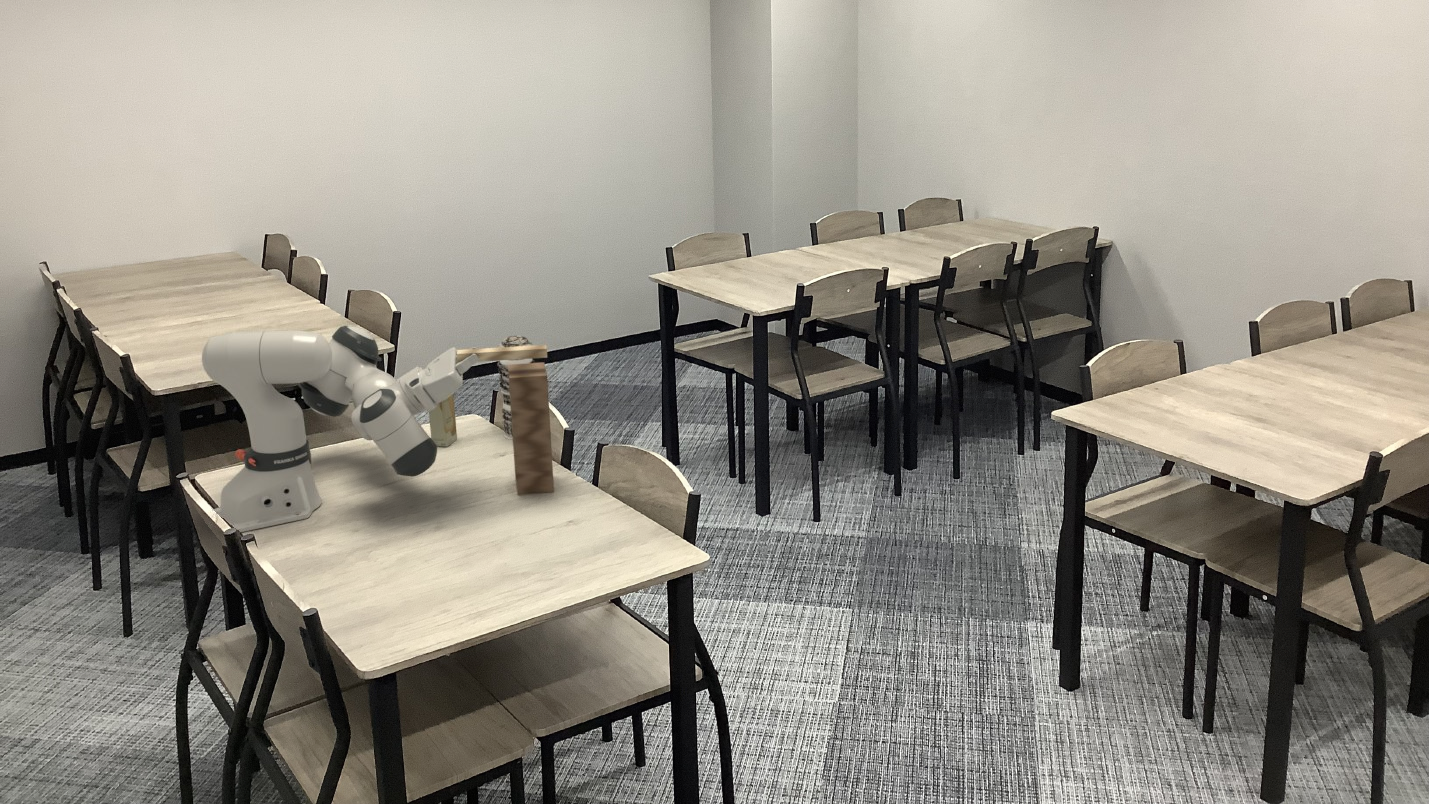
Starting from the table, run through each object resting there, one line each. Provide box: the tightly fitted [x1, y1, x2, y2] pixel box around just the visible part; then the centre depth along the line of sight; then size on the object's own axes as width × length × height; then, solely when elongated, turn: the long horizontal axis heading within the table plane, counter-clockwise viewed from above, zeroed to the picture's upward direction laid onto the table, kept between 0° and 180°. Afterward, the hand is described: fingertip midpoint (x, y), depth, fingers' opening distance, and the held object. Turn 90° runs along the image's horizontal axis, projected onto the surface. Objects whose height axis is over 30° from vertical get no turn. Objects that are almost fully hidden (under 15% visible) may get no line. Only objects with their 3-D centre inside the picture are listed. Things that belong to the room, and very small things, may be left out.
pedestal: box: [508, 361, 555, 496], centre depth 265 cm, size 8×10×27 cm
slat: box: [457, 344, 548, 363], centre depth 258 cm, size 19×3×2 cm, turn 101°
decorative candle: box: [496, 335, 536, 441], centre depth 297 cm, size 9×9×25 cm
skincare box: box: [428, 393, 458, 448], centre depth 294 cm, size 6×4×12 cm
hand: (477, 353), depth 257 cm, fingers closed on slat, 3 cm apart
